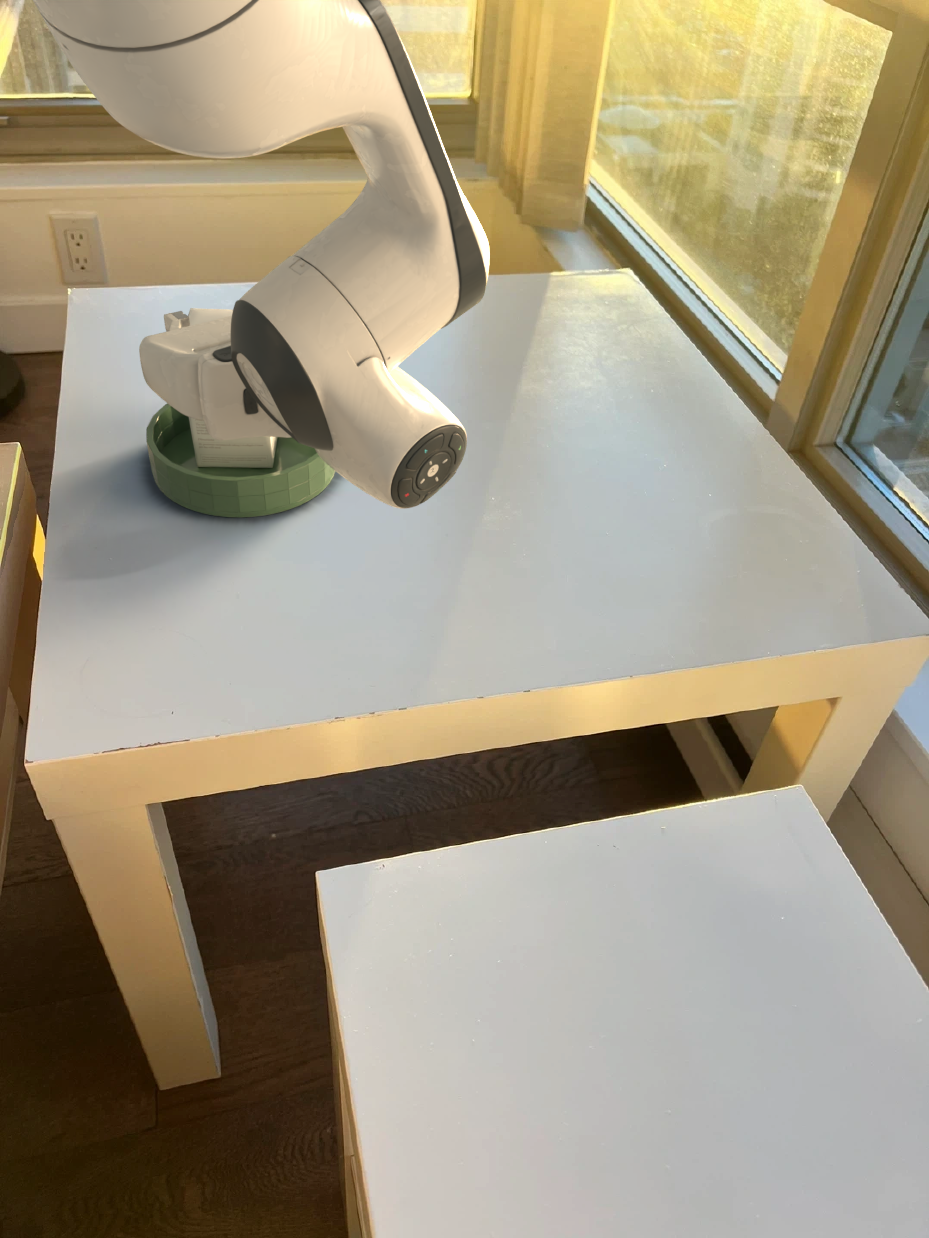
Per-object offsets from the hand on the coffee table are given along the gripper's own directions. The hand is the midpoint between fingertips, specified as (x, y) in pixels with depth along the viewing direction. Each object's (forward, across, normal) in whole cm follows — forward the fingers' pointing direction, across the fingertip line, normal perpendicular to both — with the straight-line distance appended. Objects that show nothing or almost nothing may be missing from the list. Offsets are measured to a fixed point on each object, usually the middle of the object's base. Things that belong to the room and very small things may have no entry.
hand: (223, 308), depth 82 cm
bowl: (-1, 0, +15) cm, 15 cm away
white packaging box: (+1, -1, +15) cm, 15 cm away
